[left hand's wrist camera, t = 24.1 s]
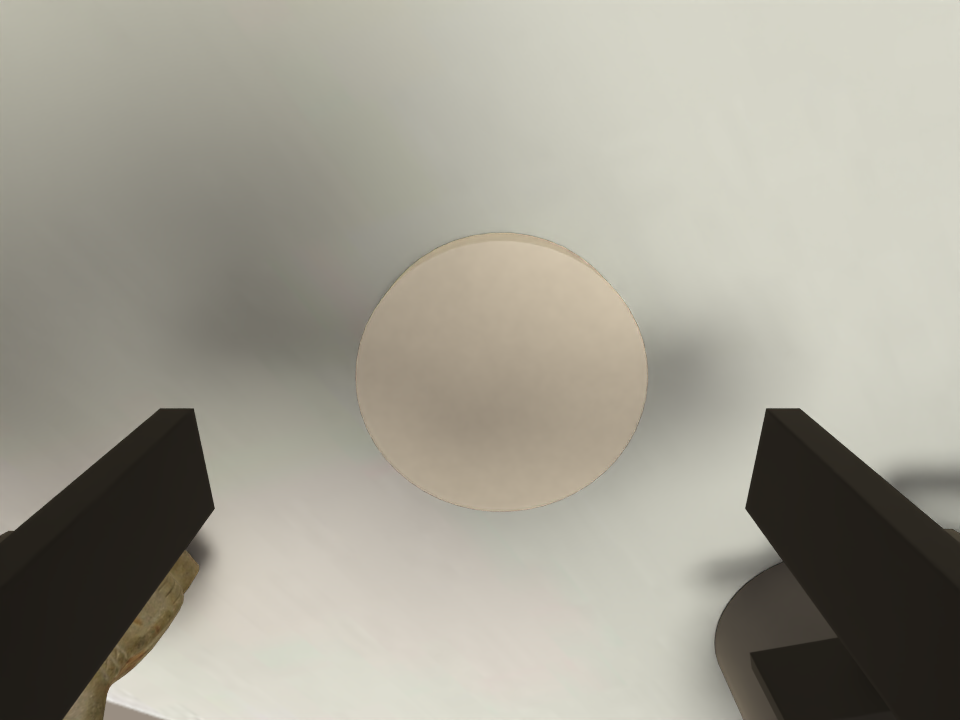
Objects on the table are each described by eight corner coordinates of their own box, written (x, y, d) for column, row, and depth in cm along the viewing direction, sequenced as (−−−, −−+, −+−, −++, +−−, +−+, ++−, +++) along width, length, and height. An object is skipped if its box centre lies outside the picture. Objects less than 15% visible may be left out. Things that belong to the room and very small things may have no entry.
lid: (542, 173, 19) (548, 174, 17) (681, 401, 21) (700, 425, 19) (313, 332, 21) (295, 350, 19) (466, 522, 23) (464, 554, 21)
